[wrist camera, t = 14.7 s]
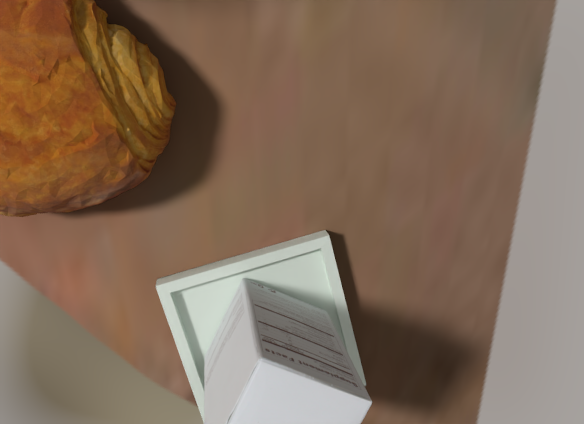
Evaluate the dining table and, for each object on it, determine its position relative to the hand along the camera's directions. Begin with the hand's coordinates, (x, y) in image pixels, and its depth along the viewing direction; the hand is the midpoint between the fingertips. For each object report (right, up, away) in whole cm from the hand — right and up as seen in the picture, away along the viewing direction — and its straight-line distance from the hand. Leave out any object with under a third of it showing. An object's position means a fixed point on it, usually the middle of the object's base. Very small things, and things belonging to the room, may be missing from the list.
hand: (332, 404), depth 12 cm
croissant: (-17, +12, +25) cm, 33 cm away
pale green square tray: (-3, -5, +31) cm, 32 cm away
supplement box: (-3, -5, +31) cm, 32 cm away
